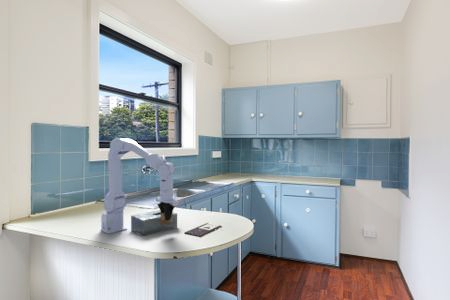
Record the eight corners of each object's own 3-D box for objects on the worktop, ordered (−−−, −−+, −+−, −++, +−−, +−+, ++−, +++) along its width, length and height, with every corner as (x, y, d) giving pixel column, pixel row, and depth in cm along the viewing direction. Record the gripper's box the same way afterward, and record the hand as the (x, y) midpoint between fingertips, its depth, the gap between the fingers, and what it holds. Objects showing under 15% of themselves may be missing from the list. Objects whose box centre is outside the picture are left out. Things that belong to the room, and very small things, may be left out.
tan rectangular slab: (163, 225, 124) (163, 214, 124) (160, 224, 126) (160, 213, 125) (172, 223, 128) (172, 212, 128) (170, 222, 129) (170, 211, 129)
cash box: (143, 236, 125) (143, 220, 125) (131, 230, 134) (131, 215, 134) (177, 227, 138) (177, 213, 138) (163, 222, 146) (163, 209, 146)
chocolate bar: (184, 232, 129) (206, 223, 144) (184, 234, 129) (206, 224, 144) (200, 235, 124) (221, 225, 140) (200, 237, 124) (221, 227, 140)
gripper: (183, 190, 124) (183, 220, 124) (165, 186, 134) (165, 214, 134) (169, 192, 119) (169, 224, 119) (152, 188, 129) (152, 217, 129)
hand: (166, 219), depth 126 cm, fingers closed on tan rectangular slab, 2 cm apart
